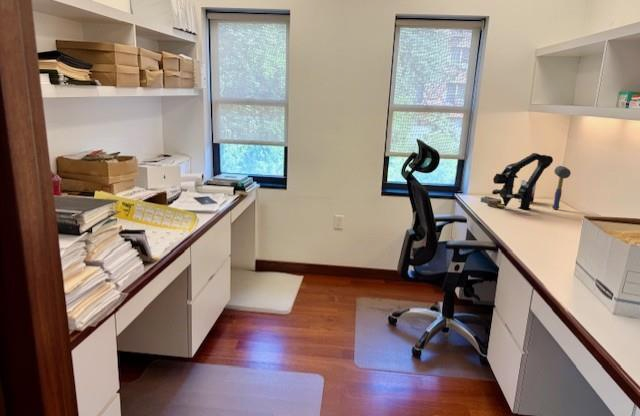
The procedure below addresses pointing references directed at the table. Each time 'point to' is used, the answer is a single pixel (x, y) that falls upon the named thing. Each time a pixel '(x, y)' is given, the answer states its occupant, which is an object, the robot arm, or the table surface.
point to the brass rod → (499, 205)
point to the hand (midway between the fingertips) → (505, 206)
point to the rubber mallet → (560, 184)
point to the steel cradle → (487, 199)
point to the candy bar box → (523, 182)
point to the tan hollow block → (494, 202)
